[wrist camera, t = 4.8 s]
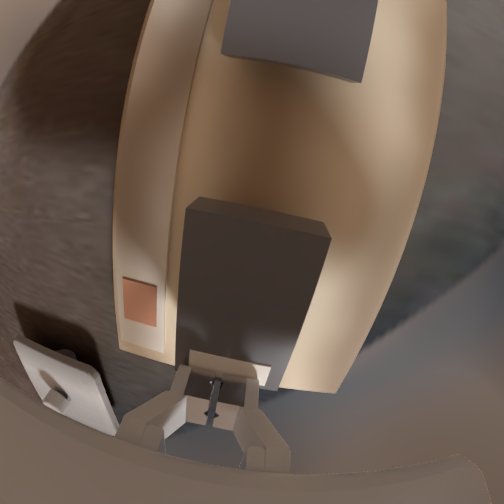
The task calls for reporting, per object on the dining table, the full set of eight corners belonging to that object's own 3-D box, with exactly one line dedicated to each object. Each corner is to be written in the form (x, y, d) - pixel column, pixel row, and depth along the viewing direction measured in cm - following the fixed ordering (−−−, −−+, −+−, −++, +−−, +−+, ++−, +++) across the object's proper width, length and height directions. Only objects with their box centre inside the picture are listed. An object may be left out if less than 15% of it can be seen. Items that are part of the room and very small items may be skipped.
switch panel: (421, -14, 8) (451, -39, 4) (329, 360, 18) (337, 405, 14) (202, -59, 8) (185, -95, 4) (138, 320, 18) (112, 359, 14)
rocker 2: (323, 222, 10) (332, 239, 8) (277, 365, 13) (276, 392, 11) (199, 196, 10) (185, 208, 8) (184, 346, 13) (174, 371, 11)
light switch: (55, 389, 23) (35, 419, 19) (26, 321, 20) (-5, 352, 15) (129, 418, 23) (112, 456, 19) (108, 351, 19) (79, 395, 15)
